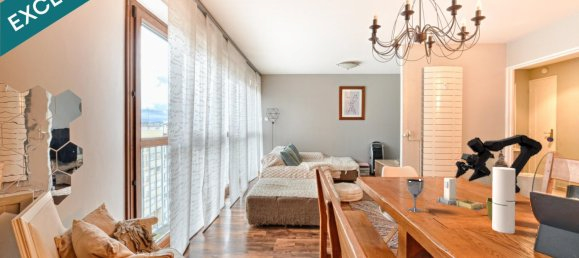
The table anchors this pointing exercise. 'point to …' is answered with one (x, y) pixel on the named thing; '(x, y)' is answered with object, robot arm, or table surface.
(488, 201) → the flower pot
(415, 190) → the wine glass
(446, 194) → the plug
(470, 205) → the port console
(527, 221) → the table surface
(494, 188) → the cylindrical container
